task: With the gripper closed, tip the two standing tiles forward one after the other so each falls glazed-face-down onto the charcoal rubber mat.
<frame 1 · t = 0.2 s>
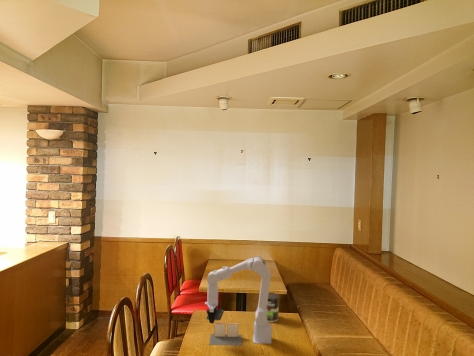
hand: (212, 319, 179), 10 cm above the table, fingers open, 7 cm apart
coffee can: (270, 318, 204), on the table
tile a: (232, 336, 180), resting on mat
phone: (215, 315, 207), on the table
mat: (225, 340, 177), on the table
tile b: (219, 336, 180), resting on mat
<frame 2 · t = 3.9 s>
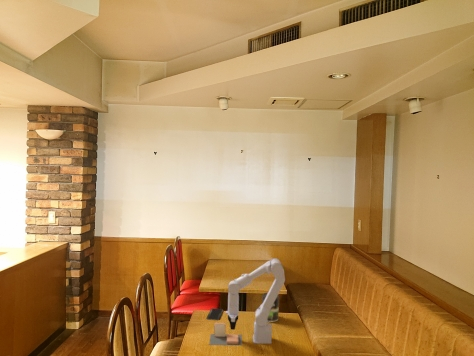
hand: (232, 328, 178), 5 cm above the table, fingers closed
tile a: (232, 335, 180), point 1 cm above the table, tilted 90°, touching mat
everything else where it was.
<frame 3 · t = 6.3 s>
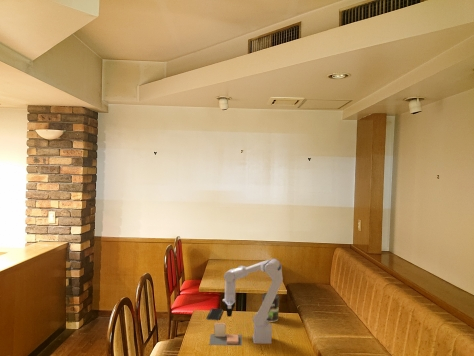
hand: (229, 316, 184), 10 cm above the table, fingers closed
nothing on the table moved.
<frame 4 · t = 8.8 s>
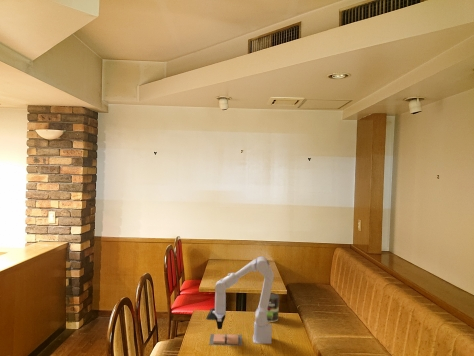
hand: (219, 328, 179), 5 cm above the table, fingers closed
tile b: (219, 335, 180), point 1 cm above the table, tilted 90°, touching mat
everything else where it was.
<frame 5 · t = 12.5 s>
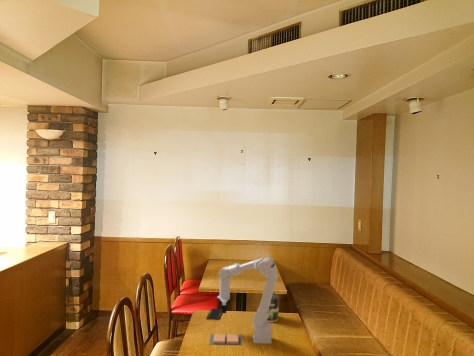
hand: (224, 312, 187), 10 cm above the table, fingers closed
nothing on the table moved.
at the end: tile a tilted 90°; tile b tilted 90°; tile a inside the target area (4.1 cm from its centre), point 1.2 cm above the table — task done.
